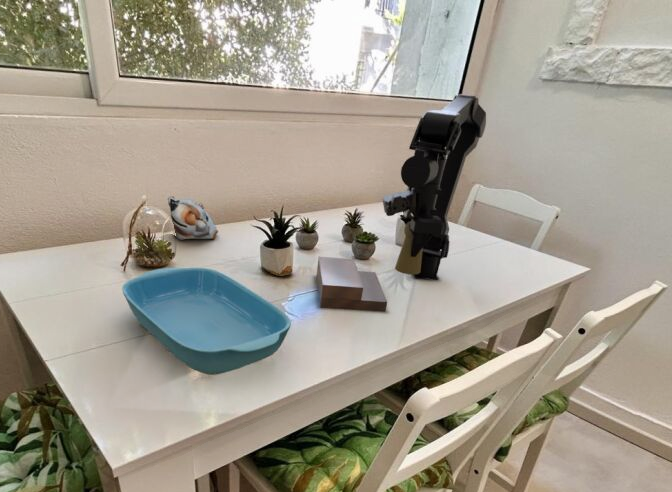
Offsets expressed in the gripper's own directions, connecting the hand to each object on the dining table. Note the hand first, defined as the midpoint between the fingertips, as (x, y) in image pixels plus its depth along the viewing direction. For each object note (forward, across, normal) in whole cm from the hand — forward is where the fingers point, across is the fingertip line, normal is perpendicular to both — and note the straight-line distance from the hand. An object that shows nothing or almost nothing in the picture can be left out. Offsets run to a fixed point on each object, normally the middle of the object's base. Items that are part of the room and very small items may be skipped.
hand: (410, 253), depth 106 cm
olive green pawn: (+4, 0, 0) cm, 4 cm away
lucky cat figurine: (+11, -33, -55) cm, 66 cm away
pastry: (+11, -12, -30) cm, 35 cm away
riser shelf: (+11, 0, -13) cm, 17 cm away
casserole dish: (+11, +24, -44) cm, 51 cm away
